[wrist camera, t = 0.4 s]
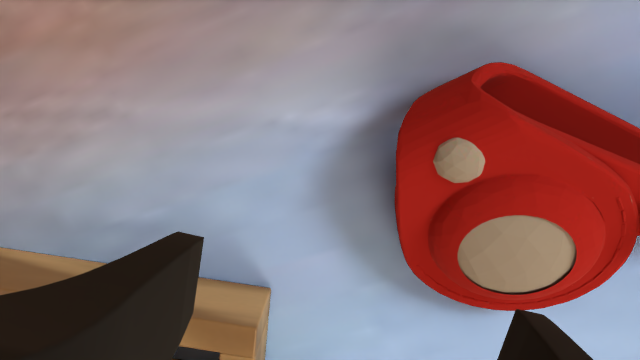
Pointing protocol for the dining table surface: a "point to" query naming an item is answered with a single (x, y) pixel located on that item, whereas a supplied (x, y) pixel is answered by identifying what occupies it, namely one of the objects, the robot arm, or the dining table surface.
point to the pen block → (209, 309)
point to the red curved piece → (514, 190)
